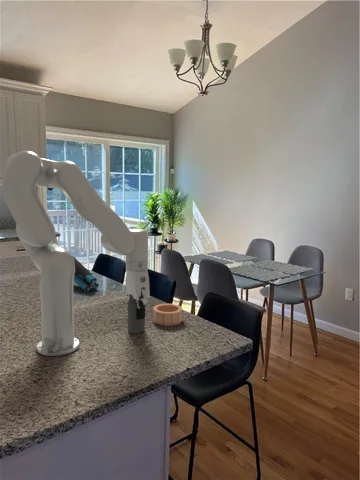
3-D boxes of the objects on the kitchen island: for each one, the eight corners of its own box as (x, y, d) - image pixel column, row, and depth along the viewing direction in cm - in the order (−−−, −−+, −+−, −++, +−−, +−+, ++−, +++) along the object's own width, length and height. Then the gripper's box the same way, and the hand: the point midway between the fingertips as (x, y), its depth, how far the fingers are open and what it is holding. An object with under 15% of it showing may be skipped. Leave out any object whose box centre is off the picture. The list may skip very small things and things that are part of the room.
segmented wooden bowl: (182, 326, 135) (183, 313, 135) (152, 325, 135) (152, 313, 134) (181, 315, 146) (181, 303, 145) (153, 315, 146) (153, 303, 145)
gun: (83, 305, 175) (87, 277, 170) (56, 280, 191) (59, 253, 186) (97, 301, 181) (101, 274, 176) (70, 277, 197) (73, 251, 192)
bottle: (124, 330, 130) (124, 288, 128) (137, 326, 134) (138, 285, 132) (134, 335, 126) (135, 292, 124) (148, 330, 130) (148, 289, 128)
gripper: (158, 269, 122) (157, 321, 124) (135, 259, 136) (135, 307, 139) (137, 271, 118) (137, 325, 120) (116, 261, 132) (116, 310, 135)
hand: (136, 315), depth 129 cm, fingers closed on bottle, 5 cm apart
